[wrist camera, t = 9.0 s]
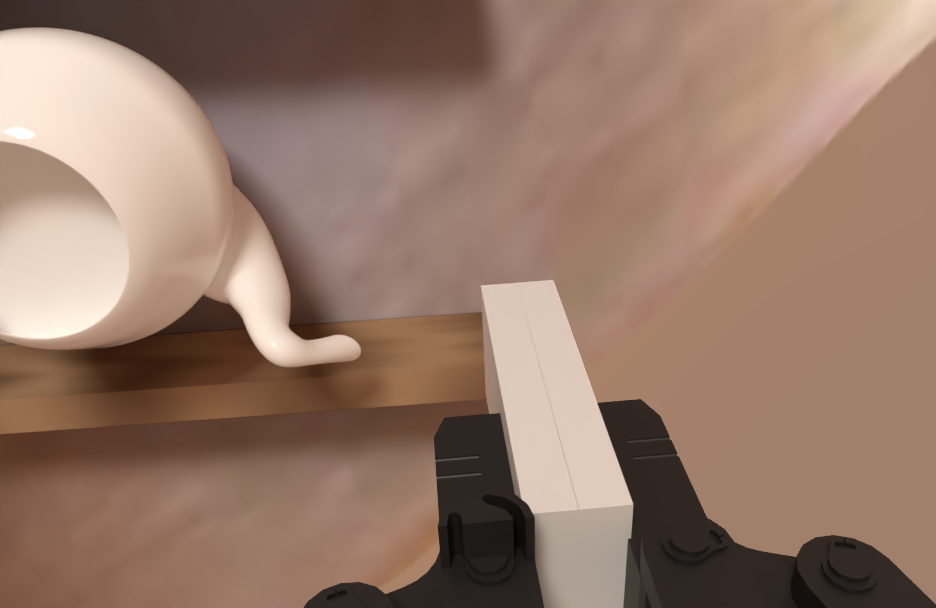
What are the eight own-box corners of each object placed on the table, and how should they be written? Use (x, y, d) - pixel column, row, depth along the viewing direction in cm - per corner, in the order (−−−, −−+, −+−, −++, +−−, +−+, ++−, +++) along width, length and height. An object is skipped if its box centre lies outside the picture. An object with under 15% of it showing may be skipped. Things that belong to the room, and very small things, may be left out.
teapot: (310, 358, 34) (277, 515, 26) (-208, 98, 28) (-463, 196, 20) (434, 174, 31) (440, 289, 23) (-128, -170, 25) (-399, -183, 16)
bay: (-229, 393, 34) (-428, 558, 26) (-479, -58, 25) (-882, -21, 18) (483, 343, 34) (503, 488, 26) (462, -111, 26) (481, -98, 18)
